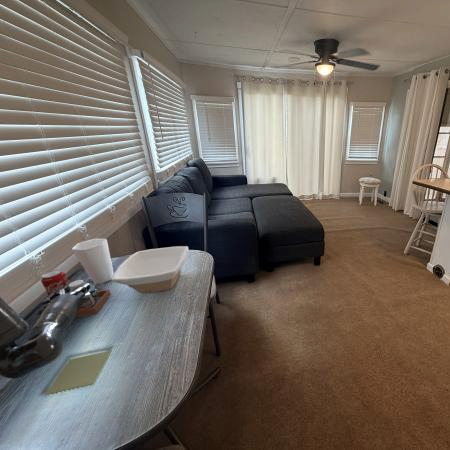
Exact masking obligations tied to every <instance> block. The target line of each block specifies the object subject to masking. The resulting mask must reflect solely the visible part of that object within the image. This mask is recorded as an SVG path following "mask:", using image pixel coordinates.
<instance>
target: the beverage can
mask: <svg viewBox="0 0 450 450" xmlns="http://www.w3.org/2000/svg"><path fill="white" fill-rule="evenodd" d="M40 282H41V284H42V286H43V288H44V290H45V291H46V293H47V295H48V296H49V295H50V294H51V293H53V292H55V291H56V292H59V291H60V290H61V289H63V288H64V286H66V285H67V284H69V283H70V281H69V279H68V277H67V275H66V273H65V272H64V271H62V270H61V269H53V270H50V271H47V272H45V273H44V274H42V275H41V279H40ZM53 298H54V297H53Z"/></svg>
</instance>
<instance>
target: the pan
mask: <svg viewBox="0 0 450 450" xmlns="http://www.w3.org/2000/svg"><path fill="white" fill-rule="evenodd" d="M111 296H112V293H111V291H110V289H103V290H97V296H96V297H94V299H97V298H100V299H98V301H97V302H96V303H95V304H94V305H93V307H89V308H87V309H83V310H79V311H78V313H77V315H76V317H75V318H82V317H87V316H92V315H97V314H98V313H99V312H100V311H101V309H102V307H104V305H105V303H106V302H107V301H108V299H109V298H110V297H111ZM44 310H45V309H44V308H39V309H38V314H39V315H41V314H42V312H43V311H44ZM75 318H74V319H75Z"/></svg>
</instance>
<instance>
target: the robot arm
mask: <svg viewBox="0 0 450 450" xmlns="http://www.w3.org/2000/svg"><path fill="white" fill-rule="evenodd" d="M70 283H71V282H69V284H70ZM69 284H67V285H66V286H64V288H63V289H61V290H60V291H59V292H56V291H55V292H53V293H51V294H50V295H48V296H46V297H45V298H44V299H43V300H41V302H40V304H41V306H42V307H43V308H44V309H45V310H44V311H43V312H42V313H41V314H39V317H38V319H37V320H36V322H35V323H34V324H33V325H32V327H31V329H30V328H29V327H30V326H29V323H28V322H27V321H26V320H25V319H24V318H23V317H22V316H21V315H20V314H19V313H18V312H17V311H15V309H13V308H12V307H11V306H10V305H9V304H8V303H7V302H6V301H5V300H4V299H3V298H2V297H1V296H0V376H1V377H3V378H5V379H15V380H16V379H19V378H22V377H24V376H27V375H29V374H30V373H32V372H34V371H36V370H39V369H41V368H43V367H45V366H47V365H49V364H51V363H53V362H54V361H55V360H56V359H57V358H58V357H59V356H60V355H61V354H62V353H63V351H64V341H65V333H66V332H67V330H68V328H69V327H70V325H71V324H72V323H73V321H74V320H75V317H76V315H77V313H78V311H79V310H80V308H81V306H82V302H83V301H84V300H85V299H86V298H87V297H90V296H92V297H93V298H94V297H96V296H97V291H98V287H97V283H94V282H93V280H91V278H88V279H87V280H86V282H85V285H84V286H83V287H79V288H78V289H77V290H75V291H73V292H69V291H70V290H71V289H70V288H69ZM86 289H87V290H86ZM53 297H54V298H53ZM94 299H95V298H94ZM43 308H42V309H43ZM29 329H30V330H29ZM28 330H29V332H28ZM27 332H28V335H27V339H28V341H26V342H24V343H23V344H20V345H19V344H18V343H17V342H16V341H18V340H19V339H21V338H22V337H23V336H25V334H26V333H27Z"/></svg>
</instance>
